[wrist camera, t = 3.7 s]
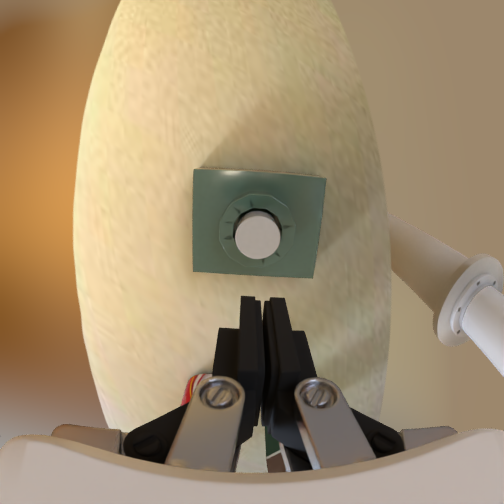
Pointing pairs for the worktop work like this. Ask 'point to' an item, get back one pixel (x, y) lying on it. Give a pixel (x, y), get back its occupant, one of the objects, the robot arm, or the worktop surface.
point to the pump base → (248, 200)
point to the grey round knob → (257, 235)
